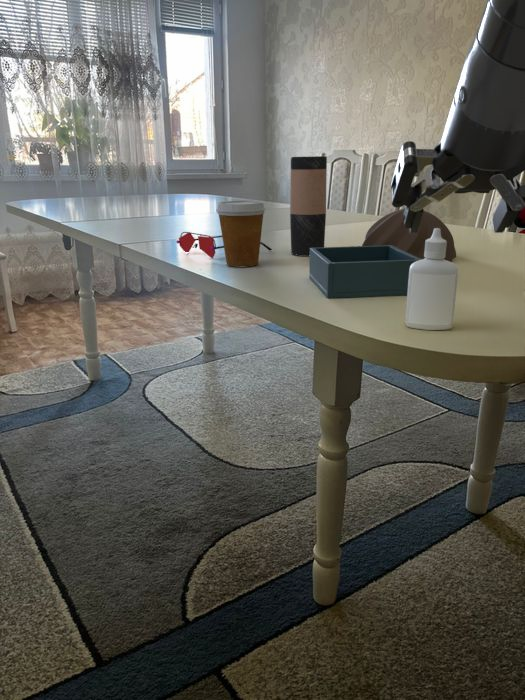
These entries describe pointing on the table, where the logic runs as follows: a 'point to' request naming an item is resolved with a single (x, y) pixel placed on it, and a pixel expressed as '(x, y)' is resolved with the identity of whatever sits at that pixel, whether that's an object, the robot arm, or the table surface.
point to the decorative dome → (408, 234)
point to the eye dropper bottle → (432, 288)
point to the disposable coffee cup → (241, 231)
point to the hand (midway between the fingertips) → (454, 226)
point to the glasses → (201, 243)
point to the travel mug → (307, 203)
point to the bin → (360, 270)
